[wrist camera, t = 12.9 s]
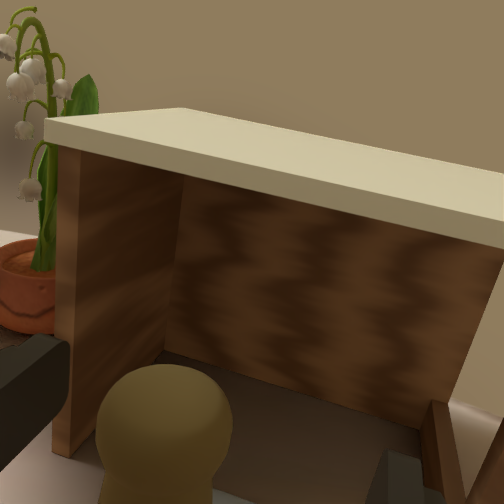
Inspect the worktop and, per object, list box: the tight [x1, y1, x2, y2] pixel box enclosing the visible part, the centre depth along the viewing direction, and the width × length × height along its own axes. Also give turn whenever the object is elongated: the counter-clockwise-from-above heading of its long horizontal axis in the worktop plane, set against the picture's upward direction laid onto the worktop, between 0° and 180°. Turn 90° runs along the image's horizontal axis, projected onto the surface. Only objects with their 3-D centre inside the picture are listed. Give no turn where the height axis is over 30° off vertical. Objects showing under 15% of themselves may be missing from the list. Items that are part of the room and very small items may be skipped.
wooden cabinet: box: [44, 108, 504, 504], centre depth 29 cm, size 24×15×20 cm, turn 75°
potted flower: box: [0, 7, 99, 334], centre depth 37 cm, size 12×10×25 cm
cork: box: [95, 364, 233, 504], centre depth 20 cm, size 6×6×11 cm
